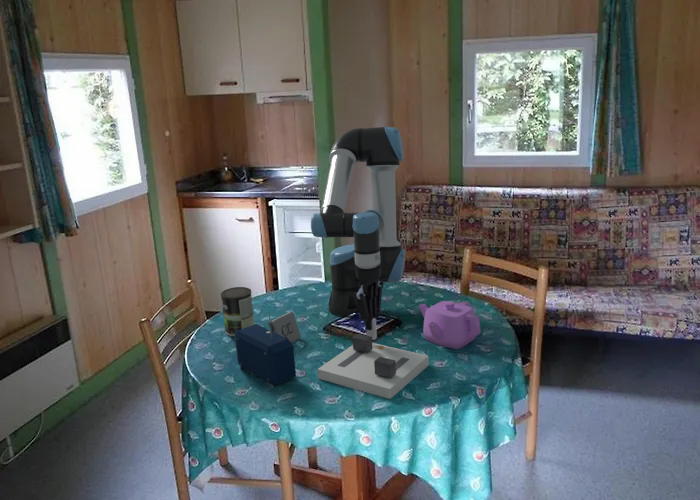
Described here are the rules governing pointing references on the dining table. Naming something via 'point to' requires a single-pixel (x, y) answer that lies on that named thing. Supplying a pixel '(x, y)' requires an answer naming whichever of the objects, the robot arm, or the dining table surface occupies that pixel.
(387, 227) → the robot arm
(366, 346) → the block
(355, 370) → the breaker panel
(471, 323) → the teakettle
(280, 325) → the electrical switch
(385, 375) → the block
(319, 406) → the dining table surface
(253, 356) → the radio
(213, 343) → the dining table surface
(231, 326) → the coffee can
